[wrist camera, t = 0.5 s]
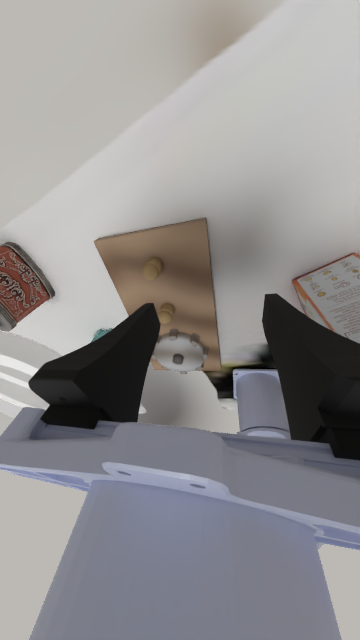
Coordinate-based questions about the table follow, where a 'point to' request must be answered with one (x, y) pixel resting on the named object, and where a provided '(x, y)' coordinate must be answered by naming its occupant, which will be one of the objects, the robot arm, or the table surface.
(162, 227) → the board
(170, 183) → the table surface
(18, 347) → the ring with crossbar
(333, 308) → the cracker box
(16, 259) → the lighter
